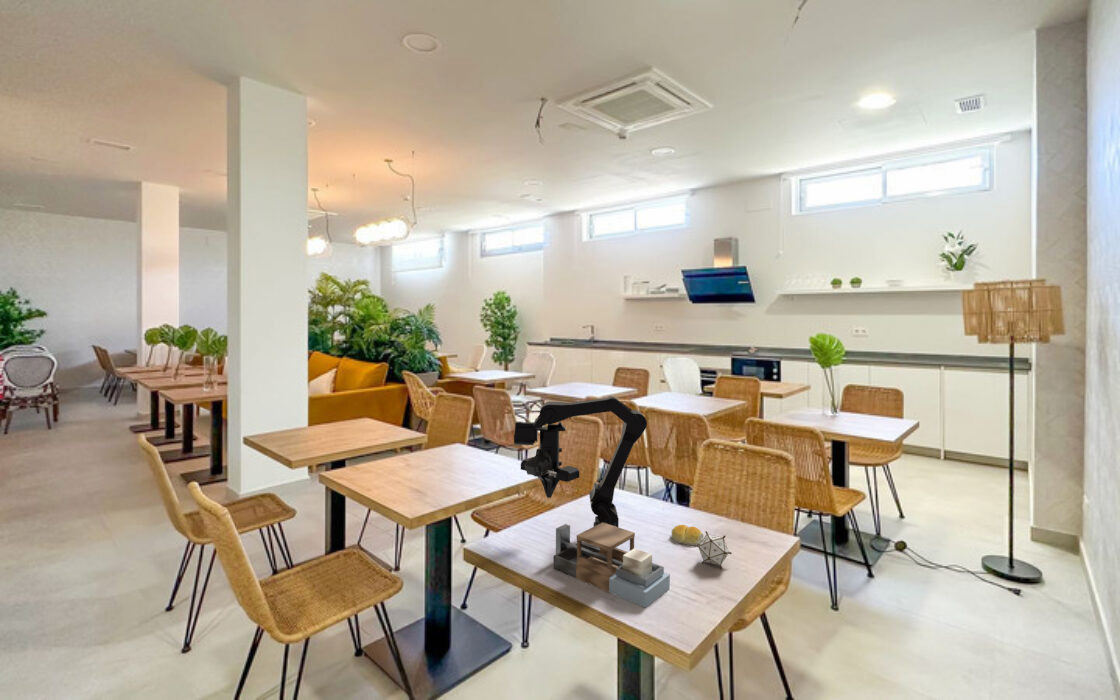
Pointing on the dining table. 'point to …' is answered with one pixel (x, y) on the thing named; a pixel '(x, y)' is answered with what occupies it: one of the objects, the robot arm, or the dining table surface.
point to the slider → (564, 543)
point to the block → (638, 562)
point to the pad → (639, 589)
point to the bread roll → (687, 535)
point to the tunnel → (589, 566)
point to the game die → (713, 549)
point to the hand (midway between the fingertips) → (549, 497)
